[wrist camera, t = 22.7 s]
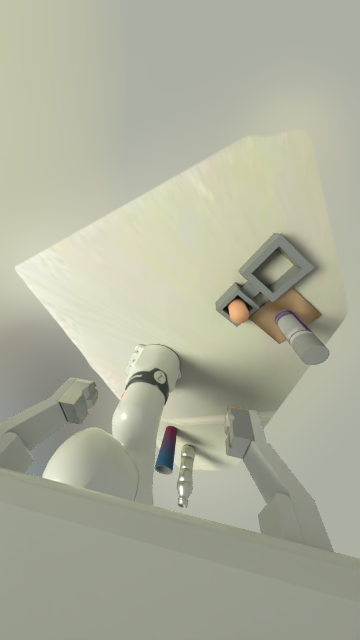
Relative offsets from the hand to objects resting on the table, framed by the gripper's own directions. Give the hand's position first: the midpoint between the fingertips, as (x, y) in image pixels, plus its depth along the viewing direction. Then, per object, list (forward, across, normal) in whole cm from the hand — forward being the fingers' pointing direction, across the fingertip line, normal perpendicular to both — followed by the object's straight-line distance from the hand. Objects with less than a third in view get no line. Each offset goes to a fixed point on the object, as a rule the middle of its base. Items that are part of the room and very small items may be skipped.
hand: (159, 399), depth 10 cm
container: (+36, -23, +10) cm, 44 cm away
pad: (+37, -23, +10) cm, 44 cm away
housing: (+37, -14, +2) cm, 39 cm away
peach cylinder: (+36, -10, +7) cm, 38 cm away
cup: (+37, +4, +72) cm, 81 cm away
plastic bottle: (+37, -5, +84) cm, 92 cm away
